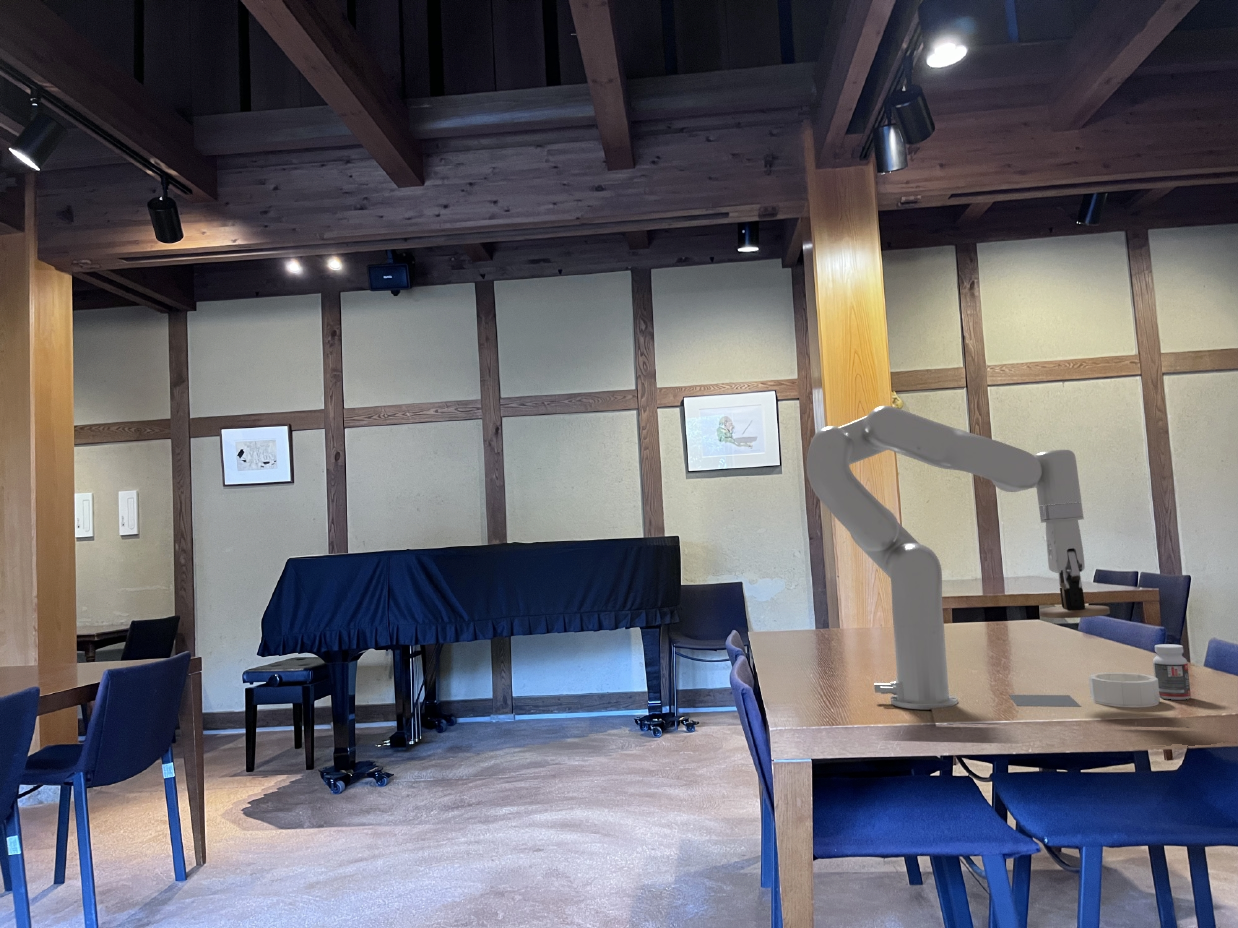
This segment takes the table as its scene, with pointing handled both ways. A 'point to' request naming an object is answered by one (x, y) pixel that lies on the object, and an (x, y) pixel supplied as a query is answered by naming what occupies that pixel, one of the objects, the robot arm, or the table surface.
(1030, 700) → the mat
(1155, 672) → the pill bottle
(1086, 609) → the lid
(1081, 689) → the table surface
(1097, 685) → the bowl
